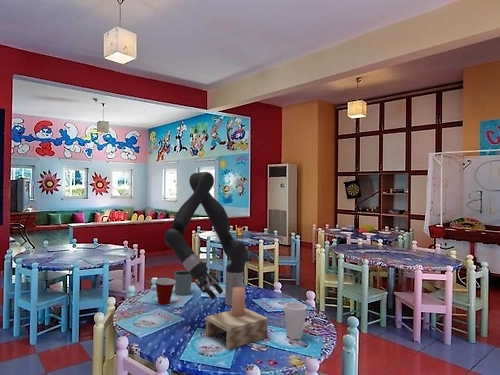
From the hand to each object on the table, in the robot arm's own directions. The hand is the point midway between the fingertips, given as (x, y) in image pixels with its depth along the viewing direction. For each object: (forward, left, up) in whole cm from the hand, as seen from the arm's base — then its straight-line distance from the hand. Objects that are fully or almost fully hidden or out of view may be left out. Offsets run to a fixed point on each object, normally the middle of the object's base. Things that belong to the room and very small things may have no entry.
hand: (218, 295), depth 155 cm
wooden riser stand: (-3, +10, -15) cm, 18 cm away
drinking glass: (-13, -54, -15) cm, 57 cm away
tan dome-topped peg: (-5, +8, -7) cm, 12 cm away
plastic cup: (+3, -44, -15) cm, 46 cm away
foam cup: (-23, +24, -15) cm, 36 cm away
